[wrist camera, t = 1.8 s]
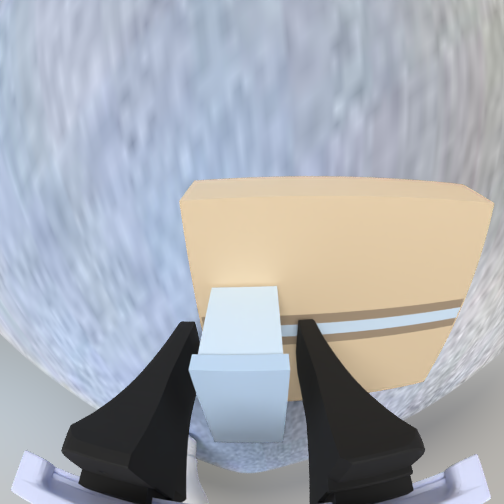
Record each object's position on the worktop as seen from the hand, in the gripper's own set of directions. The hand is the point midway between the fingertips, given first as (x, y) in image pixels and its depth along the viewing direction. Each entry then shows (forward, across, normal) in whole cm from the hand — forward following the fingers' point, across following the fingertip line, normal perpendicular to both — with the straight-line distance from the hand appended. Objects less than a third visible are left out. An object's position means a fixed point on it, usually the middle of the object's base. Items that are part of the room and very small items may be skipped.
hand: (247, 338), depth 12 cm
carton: (+3, -4, 0) cm, 5 cm away
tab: (0, 0, 0) cm, 0 cm away
